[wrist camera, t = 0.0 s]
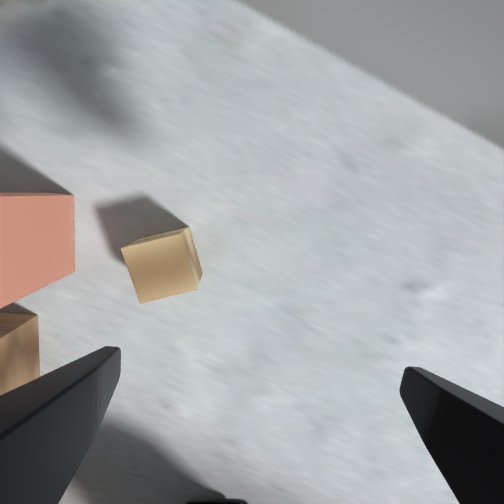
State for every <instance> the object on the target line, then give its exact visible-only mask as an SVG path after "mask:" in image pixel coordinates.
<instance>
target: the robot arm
mask: <svg viewBox="0 0 504 504" xmlns="http://www.w3.org/2000/svg"><path fill="white" fill-rule="evenodd" d="M120 370H121V350H120V348H119V347H110V346H105V347H103V348H101V349H99V350H96V351H94V352H92V353H90V354H88V355H86V356H84V357H81V358H79V359H77V360H75V361H73V362H71V363H69V364H66V365H64V366H62V367H60V368H58V369H56V370H54V371H51V372H49V373H47V374H45V375H43V376H41V377H39V378H36V379H34V380H32V381H30V382H28V383H26V384H24V385H21V386H19V387H17V388H15V389H13V390H11V391H9V392H6V393H4V394H2V395H0V504H58V503H59V501H60V499H61V498H62V496H63V494H64V492H65V490H66V488H67V487H68V485H69V483H70V481H71V479H72V477H73V476H74V474H75V472H76V470H77V468H78V466H79V464H80V463H81V461H82V459H83V457H84V455H85V453H86V452H87V450H88V448H89V446H90V444H91V442H92V441H93V439H94V437H95V435H96V433H97V431H98V428H99V426H100V424H101V422H102V419H103V417H104V414H105V412H106V410H107V407H108V405H109V402H110V400H111V398H112V395H113V393H114V390H115V388H116V386H117V383H118V381H119V377H120ZM400 395H401V398H402V400H403V402H404V404H405V406H406V408H407V410H408V412H409V414H410V416H411V418H412V420H413V422H414V424H415V426H416V429H417V431H418V433H419V435H420V437H421V439H422V440H423V442H424V444H425V446H426V448H427V450H428V451H429V453H430V455H431V457H432V458H433V460H434V462H435V463H436V465H437V467H438V468H439V470H440V472H441V473H442V475H443V477H444V478H445V480H446V482H447V483H448V485H449V487H450V488H451V490H452V492H453V493H454V495H455V497H456V498H457V500H458V502H459V503H460V504H504V407H502V406H500V405H498V404H496V403H494V402H492V401H490V400H488V399H486V398H483V397H481V396H479V395H477V394H475V393H473V392H471V391H469V390H467V389H465V388H462V387H460V386H458V385H456V384H454V383H452V382H450V381H448V380H446V379H444V378H441V377H439V376H437V375H435V374H433V373H431V372H429V371H427V370H425V369H423V368H420V367H406V368H405V370H404V373H403V377H402V381H401V385H400ZM188 504H217V503H188Z"/></svg>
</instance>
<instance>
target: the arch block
mask: <svg viewBox="0 0 504 504" xmlns="http://www.w3.org/2000/svg"><path fill="white" fill-rule="evenodd" d="M73 272H75V255H74V195H68V194H59V193H50V192H0V309H1V308H3V307H5V306H7V305H9V304H11V303H13V302H15V301H17V300H19V299H21V298H23V297H25V296H27V295H29V294H31V293H33V292H35V291H37V290H39V289H41V288H43V287H45V286H47V285H49V284H51V283H53V282H55V281H57V280H59V279H61V278H63V277H65V276H67V275H69V274H71V273H73Z"/></svg>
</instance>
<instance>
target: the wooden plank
mask: <svg viewBox="0 0 504 504" xmlns="http://www.w3.org/2000/svg"><path fill="white" fill-rule="evenodd" d="M39 377H40V363H39V334H38V315H33V314H20V313H8V312H0V395H2V394H4V393H6V392H9V391H11V390H13V389H15V388H17V387H19V386H21V385H24V384H26V383H28V382H30V381H32V380H34V379H36V378H39Z"/></svg>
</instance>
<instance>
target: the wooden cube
mask: <svg viewBox="0 0 504 504" xmlns="http://www.w3.org/2000/svg"><path fill="white" fill-rule="evenodd" d="M121 251H122V254H123V257H124V260H125V263H126V265H127V268H128V271H129V274H130V277H131V280H132V282H133V285H134V288H135V291H136V294H137V297H138V299H139V302H140V304H141V303H145V302H149V301H153V300H157V299H161V298H165V297H169V296H173V295H177V294H181V293H185V292H189V291H193V290H197V288H198V285H199V282H200V279H201V276H202V274H203V273H202V269H201V266H200V262H199V259H198V256H197V252H196V249H195V245H194V242H193V238H192V235H191V231H190V228H189V227H185V228H181V229H177V230H172V231H168V232H164V233H160V234H156V235H152V236H148V237H144V238H140V239H138V240H136V241H134V242H132V243H130V244H128V245H126V246H124V247H122V248H121Z"/></svg>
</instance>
